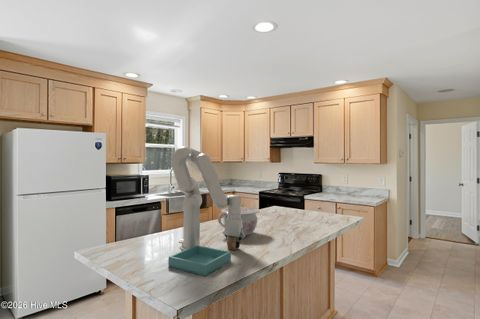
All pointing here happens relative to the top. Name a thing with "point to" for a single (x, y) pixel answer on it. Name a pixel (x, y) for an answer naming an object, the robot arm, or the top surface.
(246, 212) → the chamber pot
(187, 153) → the robot arm
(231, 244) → the walnut block
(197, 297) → the top surface
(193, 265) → the bin
